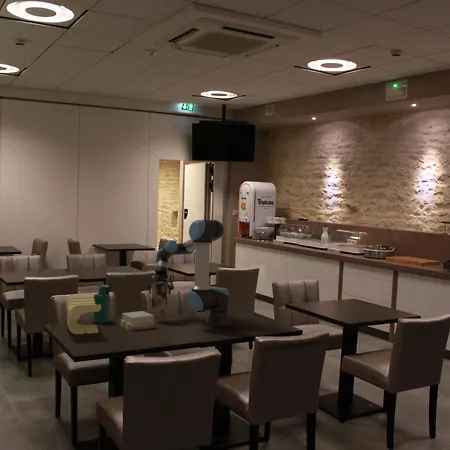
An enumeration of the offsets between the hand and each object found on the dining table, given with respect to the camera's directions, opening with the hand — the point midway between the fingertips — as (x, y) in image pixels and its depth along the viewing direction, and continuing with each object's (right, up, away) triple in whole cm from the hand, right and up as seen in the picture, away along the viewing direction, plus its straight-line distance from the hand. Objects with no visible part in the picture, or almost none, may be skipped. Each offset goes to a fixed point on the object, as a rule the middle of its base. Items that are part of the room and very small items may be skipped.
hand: (159, 298), depth 340 cm
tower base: (-12, -16, -12) cm, 23 cm away
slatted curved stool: (-41, -16, -26) cm, 51 cm away
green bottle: (-35, -15, -1) cm, 38 cm away
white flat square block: (-12, -12, -12) cm, 21 cm away
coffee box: (0, -7, +3) cm, 8 cm away
